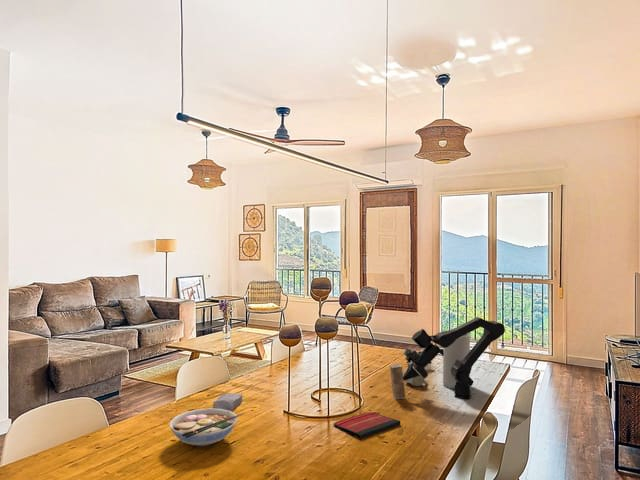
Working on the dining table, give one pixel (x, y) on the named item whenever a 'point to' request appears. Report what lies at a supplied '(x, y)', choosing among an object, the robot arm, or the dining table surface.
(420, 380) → the ceramic mug
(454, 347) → the cylinder vase
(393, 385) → the walnut block
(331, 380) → the dining table surface
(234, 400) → the stone block
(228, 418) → the ramen bowl
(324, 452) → the dining table surface
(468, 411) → the dining table surface
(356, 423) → the binder
